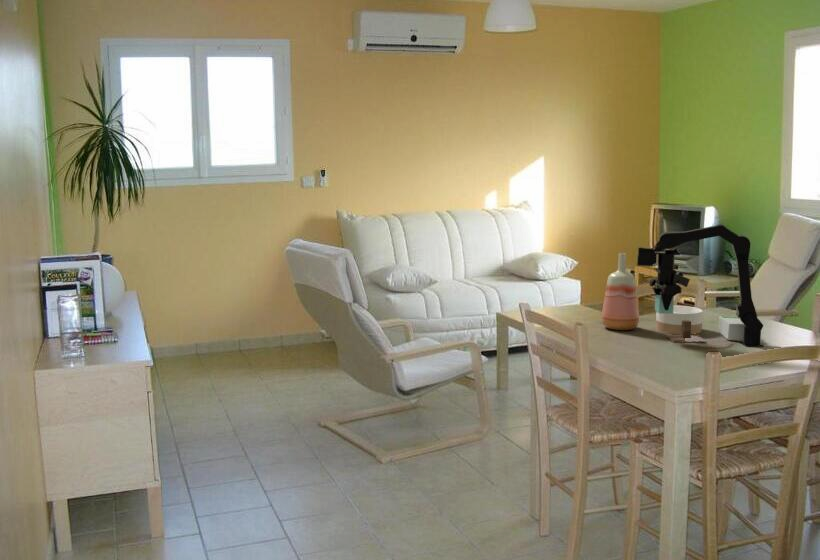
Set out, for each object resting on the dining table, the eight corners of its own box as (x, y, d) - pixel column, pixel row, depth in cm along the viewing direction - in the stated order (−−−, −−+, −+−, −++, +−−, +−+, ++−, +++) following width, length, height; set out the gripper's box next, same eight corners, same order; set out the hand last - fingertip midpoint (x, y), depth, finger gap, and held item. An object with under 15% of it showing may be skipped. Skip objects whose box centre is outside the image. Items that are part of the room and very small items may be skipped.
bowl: (661, 335, 336) (662, 313, 335) (651, 325, 353) (651, 305, 352) (707, 335, 335) (708, 313, 334) (694, 326, 352) (695, 305, 351)
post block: (706, 342, 323) (707, 323, 322) (673, 342, 323) (674, 323, 322) (697, 336, 332) (698, 318, 331) (665, 337, 332) (666, 318, 331)
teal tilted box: (673, 313, 322) (673, 297, 321) (658, 313, 322) (659, 297, 321) (668, 310, 327) (669, 294, 326) (654, 310, 327) (655, 294, 326)
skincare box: (740, 316, 339) (752, 323, 323) (739, 333, 340) (751, 341, 324) (718, 315, 339) (729, 322, 324) (717, 332, 340) (728, 340, 325)
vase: (593, 326, 351) (596, 252, 347) (623, 323, 357) (626, 250, 352) (616, 333, 338) (618, 256, 334) (646, 330, 344) (649, 254, 339)
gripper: (696, 270, 313) (694, 313, 315) (679, 263, 331) (677, 304, 334) (665, 270, 313) (663, 313, 315) (649, 263, 331) (648, 304, 333)
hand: (664, 308), depth 324 cm, fingers closed on teal tilted box, 5 cm apart
